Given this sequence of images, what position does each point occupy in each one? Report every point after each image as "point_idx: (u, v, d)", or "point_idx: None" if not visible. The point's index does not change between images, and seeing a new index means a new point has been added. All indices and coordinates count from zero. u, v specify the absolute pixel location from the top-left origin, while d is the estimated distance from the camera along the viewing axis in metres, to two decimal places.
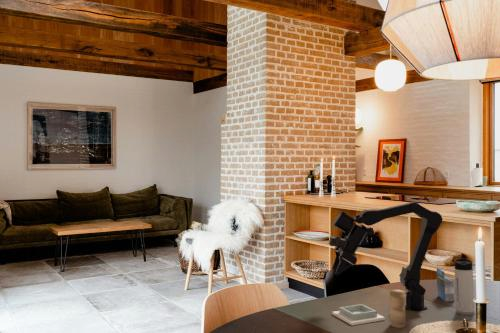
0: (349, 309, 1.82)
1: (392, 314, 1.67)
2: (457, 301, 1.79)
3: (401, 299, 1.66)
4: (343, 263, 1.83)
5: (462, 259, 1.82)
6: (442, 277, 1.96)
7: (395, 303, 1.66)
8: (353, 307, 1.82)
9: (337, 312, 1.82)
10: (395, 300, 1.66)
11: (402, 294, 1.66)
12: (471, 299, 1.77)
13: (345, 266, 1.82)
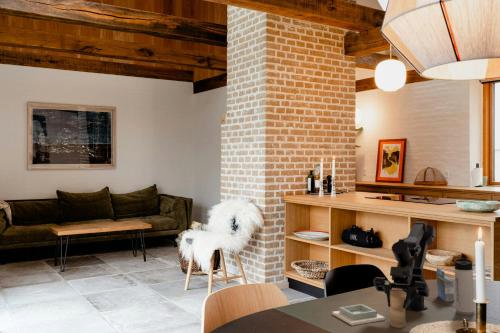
0: (349, 309, 1.82)
1: (392, 314, 1.67)
2: (457, 301, 1.79)
3: (401, 299, 1.66)
4: None
5: (462, 259, 1.82)
6: (442, 277, 1.96)
7: (395, 303, 1.66)
8: (353, 307, 1.82)
9: (337, 312, 1.82)
10: (395, 300, 1.66)
11: (402, 294, 1.66)
12: (471, 299, 1.77)
13: (411, 298, 1.68)
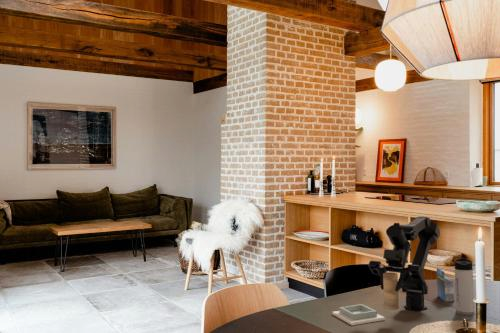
0: (349, 309, 1.82)
1: (385, 296, 1.68)
2: (457, 301, 1.79)
3: (393, 282, 1.67)
4: None
5: (462, 259, 1.82)
6: (442, 277, 1.96)
7: (387, 285, 1.67)
8: (353, 307, 1.82)
9: (337, 312, 1.82)
10: (388, 283, 1.67)
11: (395, 277, 1.67)
12: (471, 299, 1.77)
13: (404, 281, 1.69)
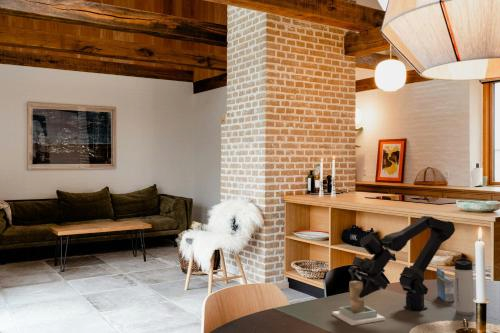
0: (349, 309, 1.82)
1: None
2: (457, 301, 1.79)
3: (354, 290, 1.76)
4: (369, 286, 1.75)
5: (462, 259, 1.82)
6: (442, 277, 1.96)
7: (350, 293, 1.78)
8: None
9: (337, 312, 1.82)
10: (351, 290, 1.77)
11: (356, 285, 1.76)
12: (471, 299, 1.77)
13: (371, 289, 1.75)
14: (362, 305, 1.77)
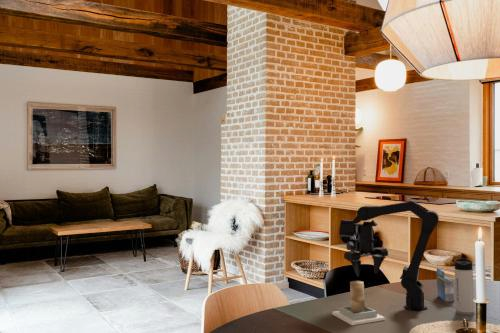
0: (349, 309, 1.82)
1: None
2: (457, 301, 1.79)
3: (355, 290, 1.76)
4: (355, 263, 1.92)
5: (462, 259, 1.82)
6: (442, 277, 1.96)
7: (351, 292, 1.78)
8: None
9: (337, 312, 1.82)
10: (351, 290, 1.78)
11: (357, 285, 1.76)
12: (471, 299, 1.77)
13: (356, 265, 1.91)
14: (362, 305, 1.77)
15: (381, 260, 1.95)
